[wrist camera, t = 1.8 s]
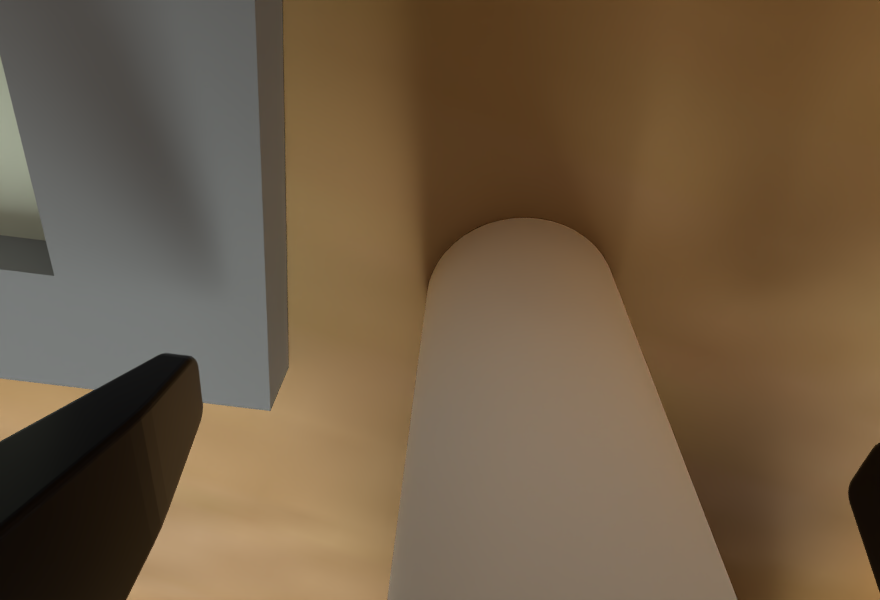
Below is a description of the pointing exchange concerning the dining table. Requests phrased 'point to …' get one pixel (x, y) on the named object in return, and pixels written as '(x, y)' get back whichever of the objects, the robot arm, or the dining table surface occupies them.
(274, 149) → the keyhole plate
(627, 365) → the cream peg
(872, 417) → the dining table surface
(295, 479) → the dining table surface
